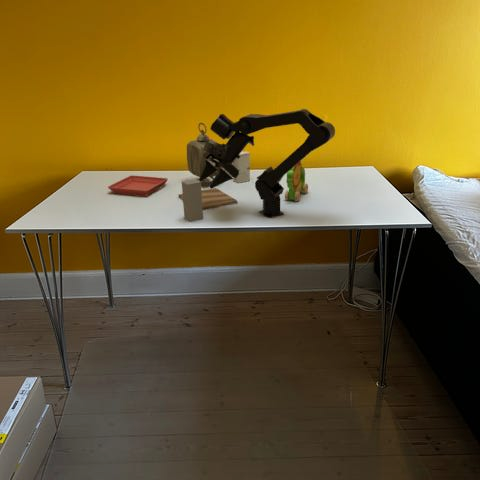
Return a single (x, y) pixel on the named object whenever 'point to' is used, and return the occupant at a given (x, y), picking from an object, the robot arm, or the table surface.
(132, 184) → the plant saucer
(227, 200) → the walnut board
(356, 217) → the table surface
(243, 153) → the skincare box
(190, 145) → the tabletop clock
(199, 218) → the tall taupe box
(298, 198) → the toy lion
